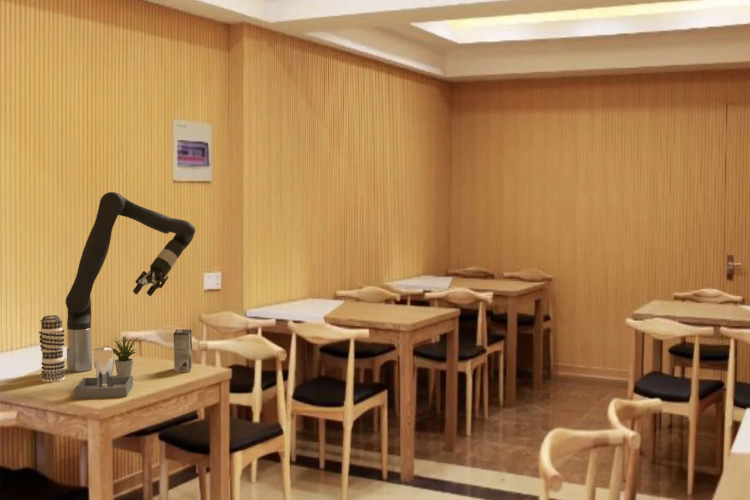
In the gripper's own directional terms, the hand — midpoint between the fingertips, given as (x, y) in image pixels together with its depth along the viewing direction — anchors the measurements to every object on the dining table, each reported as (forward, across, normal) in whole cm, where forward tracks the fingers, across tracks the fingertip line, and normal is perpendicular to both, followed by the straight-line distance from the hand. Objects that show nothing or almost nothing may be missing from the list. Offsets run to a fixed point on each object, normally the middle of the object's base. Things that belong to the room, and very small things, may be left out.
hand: (141, 293), depth 336 cm
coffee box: (+12, +6, +34) cm, 37 cm away
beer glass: (+41, +11, +4) cm, 42 cm away
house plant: (+26, -6, +21) cm, 34 cm away
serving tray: (+41, +11, +5) cm, 43 cm away
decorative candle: (+41, -22, +5) cm, 47 cm away
